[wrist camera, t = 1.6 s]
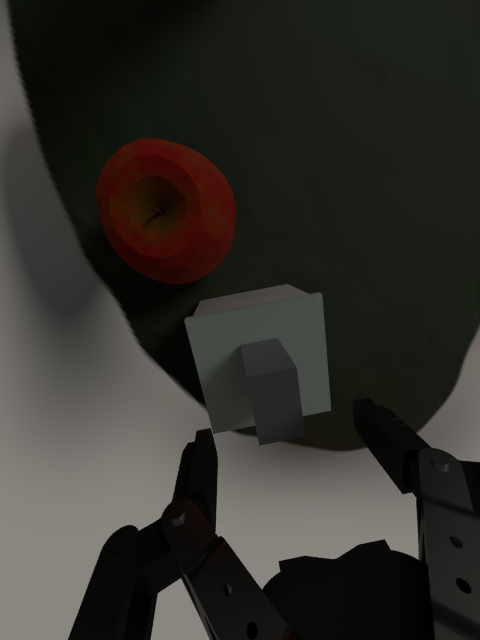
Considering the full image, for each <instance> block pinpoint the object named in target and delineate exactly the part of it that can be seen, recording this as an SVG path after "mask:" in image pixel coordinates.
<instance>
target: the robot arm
mask: <svg viewBox="0 0 480 640" xmlns="http://www.w3.org/2000/svg"><path fill="white" fill-rule="evenodd" d="M353 416H354V426H355V429H356V432H357V434H358V435H359V437H360V438H361V439H362V441H363V442H364V443H365V445H366V446H367V447H368V449H369V450H370V451H371V453H372V454H373V455H374V456H375V458H376V459H377V461H378V462H379V463H380V465H381V466H382V467H383V468H384V470H385V471H386V472H387V474H388V475H389V477H390V478H391V479H392V481H393V482H394V483H395V485H396V486H397V487H398V489H399V490H400V491H401V492H402V494H406V493H411V492H412V493H413V494H414V495H415V497H416V498H417V500H416V506H417V523H418V524H417V525H418V544H419V560H418V559H416V558H414V557H412V556H410V555H407V554H404V553H402V552H398V551H393V550H390V548H389V546H388V544H387V543H386V541H385V539H384V540H379V541H374V542H369V543H365V544H360V545H357V546H356V547H354V548H353V549H351V550H350V551H348V552H346V553H345V554H343V555H342V556H340V557H339V558H337V559H326V558H318V557H310V556H302V557H297V558H292V559H287V560H283V561H279V566H280V572H279V573H278V574H276V575H275V576H274V577H273V578H271V579H270V580H269V581H268V583H267V584H266V585H265V586H264V588H263V589H261V588H260V587H259V585H258V584H257V583H256V581H255V580H254V579H253V577H252V576H251V574H250V573H249V572H248V570H247V569H246V568H245V566H244V565H243V563H242V562H241V561H240V559H239V558H238V557H237V556H236V554H235V553H234V551H233V550H232V548H231V547H230V546H229V544H228V543H227V542H226V540H225V539H224V538H223V537H222V536H220V537H218V536H217V534H216V533H215V531H216V503H217V502H216V501H217V471H218V458H217V451H216V447H215V443H214V439H213V435H212V431H211V429H210V428H209V429H203V430H199V431H197V432H196V438H195V442H190V443H188V444H187V446H186V447H185V449H184V450H183V452H182V457H181V463H180V466H179V471H178V476H177V480H176V485H175V490H174V494H173V499H172V502H171V503H170V504H169V505H168V506H167V507H166V509H165V510H164V512H163V514H162V517H161V518H160V519H159V520H157V521H155V522H154V523H152V524H150V525H148V526H147V527H145V528H143V529H141V530H140V531H138V529H137V528H136V527H135V526H133V525H127V526H124V527H122V528H120V529H118V530H117V531H116V532H115V533H113V534H112V535H111V536H110V537H109V538H108V540H107V541H106V543H105V544H104V546H103V548H102V550H101V552H100V555H99V558H98V561H97V563H96V566H95V569H94V571H93V574H92V576H91V579H90V582H89V585H88V587H87V590H86V593H85V595H84V598H83V601H82V603H81V606H80V609H79V612H78V614H77V617H76V619H75V622H74V625H73V628H72V631H71V633H70V635H69V638H68V640H150V639H151V633H152V627H153V620H154V614H155V607H156V601H157V594H158V593H159V592H160V591H162V590H163V589H165V588H166V587H168V586H169V585H171V584H172V583H174V582H175V581H177V580H178V579H180V578H181V579H182V581H183V583H184V585H185V587H186V589H187V591H188V594H189V596H190V598H191V600H192V602H193V604H194V606H195V608H196V610H197V612H198V614H199V617H200V618H201V621H202V623H203V625H204V627H205V630H206V632H207V634H208V637H209V639H210V640H480V462H470V461H460V460H457V459H456V458H455V457H454V456H452V455H451V454H449V453H447V452H445V451H443V450H440V449H436V448H431V447H430V446H429V445H428V444H427V443H426V442H425V441H424V440H423V439H422V438H421V437H420V436H418V435H417V434H416V433H415V432H414V431H413V430H412V429H411V428H410V427H409V426H408V425H406V424H405V423H404V422H403V421H402V420H401V419H399V417H398V416H397V415H396V414H395V413H393V412H392V411H391V410H389V409H387V408H385V407H383V406H382V405H380V406H377V405H376V404H375V403H374V402H373V401H372V400H370V399H369V398H363V399H358V400H354V401H353Z"/></svg>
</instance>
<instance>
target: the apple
mask: <svg viewBox="0 0 480 640" xmlns="http://www.w3.org/2000/svg"><path fill="white" fill-rule="evenodd" d="M96 198H97V204H98V210H99V216H100V221H101V226H102V228H103V230H104V232H105V234H106V236H107V239H108V241H109V242H110V244H111V246H112V247H113V249H114V250H115V252H116V253H117V254H118V255H119V256H120V257H121V258H122V259H123V260H124V261H125V262H126V263H127V264H128V265H129V266H130V267H132V268H133V269H134V270H135V271H137V272H139V273H141V274H143V275H145V276H147V277H149V278H151V279H153V280H156V281H160V282H163V283H167V284H185V283H191V282H194V281H196V280H199V279H201V278H204V277H205V276H207V275H208V274H210V273H211V272H213V271H214V270H215V269H216V268H217V267H218V266H219V265H220V264H221V263H222V262H223V260H224V259H225V257H226V256H227V254H228V252H229V251H230V249H231V247H232V243H233V238H234V234H235V229H236V205H235V201H234V197H233V192H232V189H231V187H230V186H229V184H228V182H227V180H226V178H225V177H224V175H223V174H222V173H221V172H220V171H219V169H218V168H217V167H216V166H215V165H214V164H213V163H212V162H210V161H209V160H208V159H206V158H205V157H204V156H203V155H201V154H200V153H198V152H196V151H194V150H192V149H190V148H188V147H186V146H184V145H181V144H177V143H173V142H170V141H166V140H162V139H144V138H141V139H138V140H136V141H134V142H132V143H129V144H127V145H125V146H122V147H121V148H120V149H119V150H118V151H117V152H116V153H115V154H114V155H113V156H112V157H111V158H110V159H109V160H108V162H107V163H106V165H105V166H104V168H103V170H102V171H101V173H100V177H99V181H98V185H97V188H96Z"/></svg>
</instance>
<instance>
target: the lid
mask: <svg viewBox="0 0 480 640" xmlns="http://www.w3.org/2000/svg"><path fill="white" fill-rule="evenodd" d="M184 321H185V325H186V329H187V333H188V337H189V341H190V344H191V348H192V352H193V356H194V360H195V364H196V368H197V372H198V375H199V379H200V383H201V387H202V391H203V395H204V399H205V403H206V406H207V410H208V414H209V418H210V422H211V426H212V430H213V433H219V432H225V431H230V430H235V429H240V428H245V427H250V426H255V425H256V431H257V436H258V441H259V445H264V444H269V443H274V442H279V441H284V440H289V439H294V438H299V437H304V436H305V431H304V423H303V416H306V415H311V414H316V413H321V412H326V411H331V404H330V391H329V378H328V365H327V352H326V339H325V326H324V313H323V299H322V294H320V293H313V294H307V295H302V296H297V297H291V298H286V299H281V300H276V301H270V302H265V303H260V304H254V305H249V306H244V307H239V308H233V309H228V310H223V311H217V312H212V313H207V314H202V315H196V316H191V317H186V318H185V320H184Z"/></svg>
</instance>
